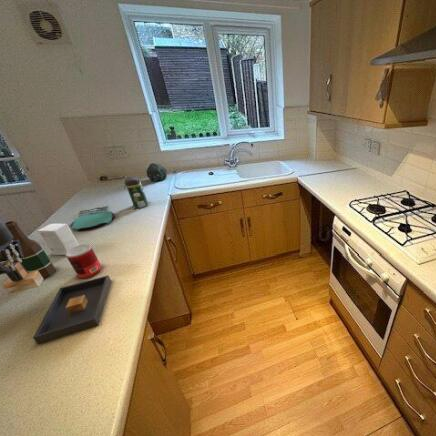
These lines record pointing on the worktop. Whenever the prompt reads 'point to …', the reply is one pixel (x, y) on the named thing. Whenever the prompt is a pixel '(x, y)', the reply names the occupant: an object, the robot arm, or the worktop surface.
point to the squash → (156, 172)
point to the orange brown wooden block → (77, 304)
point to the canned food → (84, 261)
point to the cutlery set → (92, 218)
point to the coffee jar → (136, 192)
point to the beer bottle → (31, 252)
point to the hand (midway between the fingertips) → (20, 276)
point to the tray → (71, 323)
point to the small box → (58, 238)
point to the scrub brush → (23, 280)
